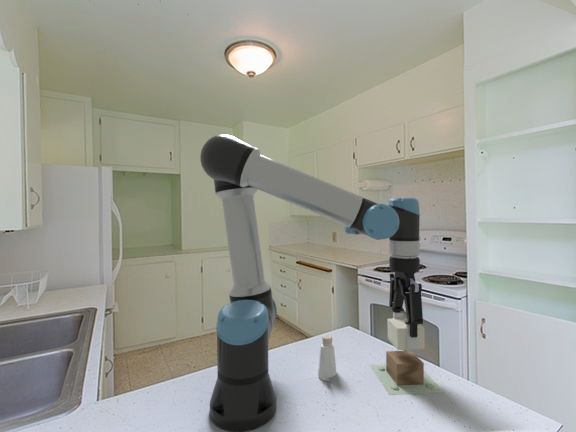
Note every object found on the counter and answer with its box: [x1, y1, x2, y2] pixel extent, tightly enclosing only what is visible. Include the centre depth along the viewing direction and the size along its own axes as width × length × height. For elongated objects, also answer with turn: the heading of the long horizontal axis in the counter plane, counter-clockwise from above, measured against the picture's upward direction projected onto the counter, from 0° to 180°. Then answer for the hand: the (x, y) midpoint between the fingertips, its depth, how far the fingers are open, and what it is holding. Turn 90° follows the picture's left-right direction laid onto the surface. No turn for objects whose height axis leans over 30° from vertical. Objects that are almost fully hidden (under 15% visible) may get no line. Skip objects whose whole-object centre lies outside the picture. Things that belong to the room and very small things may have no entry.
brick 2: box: [385, 350, 425, 386], centre depth 79 cm, size 7×7×6 cm
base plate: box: [369, 363, 445, 396], centre depth 80 cm, size 14×14×1 cm
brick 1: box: [386, 317, 426, 351], centre depth 79 cm, size 7×7×6 cm
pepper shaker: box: [317, 334, 337, 382], centre depth 82 cm, size 5×5×11 cm
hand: (404, 341), depth 79 cm, fingers closed on brick 1, 7 cm apart
